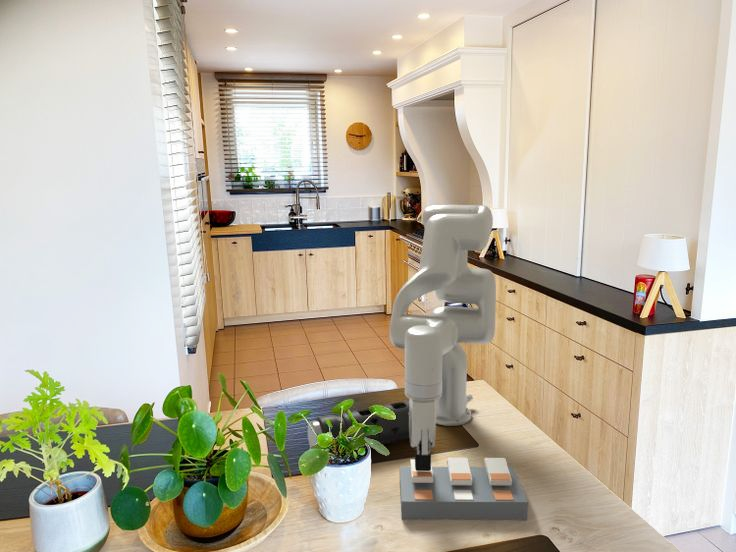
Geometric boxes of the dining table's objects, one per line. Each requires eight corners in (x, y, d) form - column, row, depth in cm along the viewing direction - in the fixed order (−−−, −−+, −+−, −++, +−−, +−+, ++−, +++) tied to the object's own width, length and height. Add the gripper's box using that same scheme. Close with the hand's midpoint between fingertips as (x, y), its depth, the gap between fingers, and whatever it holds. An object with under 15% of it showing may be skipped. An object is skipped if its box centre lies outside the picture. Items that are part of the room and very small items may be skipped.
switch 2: (446, 466, 123) (447, 457, 122) (466, 466, 123) (467, 457, 122) (450, 489, 116) (450, 479, 115) (471, 489, 116) (472, 480, 115)
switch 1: (410, 469, 123) (410, 458, 122) (430, 469, 123) (430, 458, 122) (412, 487, 116) (412, 476, 116) (433, 487, 116) (433, 476, 115)
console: (399, 482, 125) (399, 465, 124) (512, 483, 125) (513, 466, 124) (401, 519, 113) (401, 500, 112) (527, 520, 112) (528, 501, 111)
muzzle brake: (424, 445, 142) (424, 407, 140) (319, 469, 131) (317, 428, 129) (407, 429, 151) (407, 393, 149) (307, 451, 140) (305, 412, 138)
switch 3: (483, 466, 122) (484, 457, 122) (504, 466, 122) (505, 457, 121) (489, 489, 116) (490, 480, 115) (511, 490, 116) (512, 480, 115)
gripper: (403, 372, 121) (403, 450, 125) (406, 403, 106) (406, 490, 110) (438, 372, 120) (437, 450, 124) (446, 403, 106) (444, 489, 110)
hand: (422, 468), depth 117 cm, fingers closed
